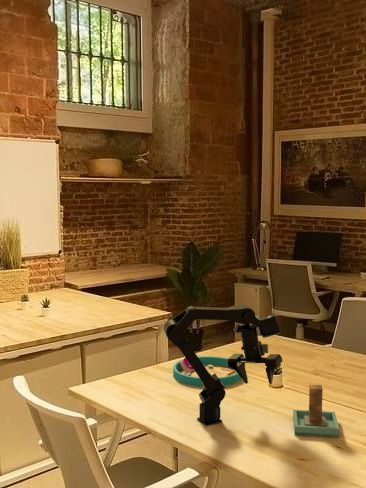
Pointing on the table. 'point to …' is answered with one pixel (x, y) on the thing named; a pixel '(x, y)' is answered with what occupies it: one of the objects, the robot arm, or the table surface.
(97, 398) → the table surface
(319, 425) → the handle post
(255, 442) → the table surface
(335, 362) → the table surface
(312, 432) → the tray
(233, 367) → the robot arm
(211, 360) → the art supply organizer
